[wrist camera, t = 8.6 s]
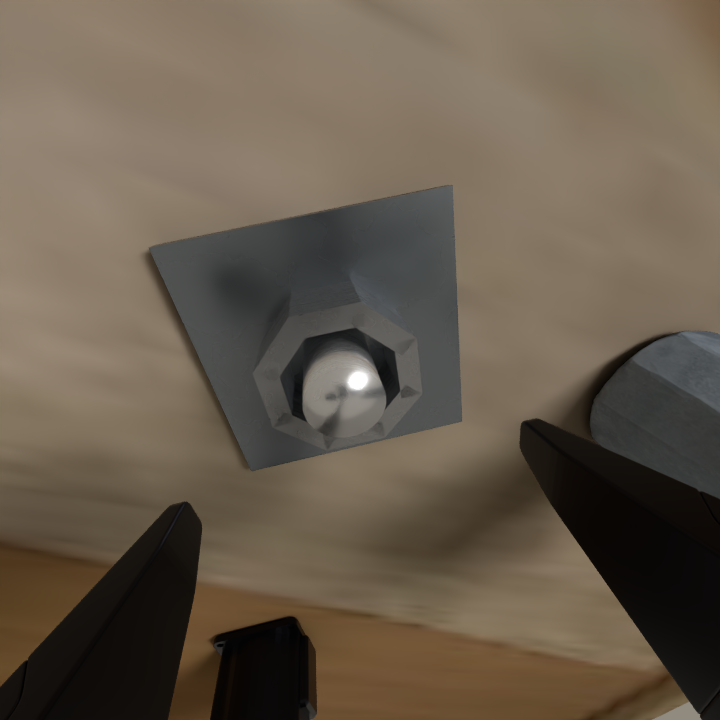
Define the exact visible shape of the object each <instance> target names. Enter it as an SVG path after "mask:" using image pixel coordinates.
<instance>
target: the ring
mask: <svg viewBox="0 0 720 720" xmlns="http://www.w3.org/2000/svg"><path fill="white" fill-rule="evenodd" d="M355 327H356V328H357V329H359V330H360V331H362V332H364V333H365V334H367V335H369V336H370V337H372V338H374V339H375V340H377V341H378V342H380V343H382V344H383V347H384V353H385V359H384V361H383V362H382V363H381V365H380V366H379V367H378V368H377V372H378V374H379V377H380V380H381V382H382V385H383V387H384V390H385V394H386V406H385V410H384V413H383V415H382V416H381V418H380V419H379V421H378V422H377V423H376V424H375V425H374V426H373V427H372V428H370V429H369V430H367V431H365V432H363V433H361V434H359V435H356V436H352V437H345V438H337V437H331V436H327V435H324V434H322V433H320V432H318V431H317V430H315V429H314V428H313V427H312V426H311V425H310V424H309V423H308V421H307V420H306V418H305V415H304V412H303V382H301V381H299V380H297V379H295V378H294V375H293V372H292V369H291V366H290V360H291V359H292V357H293V356H294V354H295V353H296V351H297V350H298V348H299V347H300V345H301V344H302V342H303V341H304V339H305V338H309V337H313V336H318V335H323V334H327V333H332V332H337V331H341V330H346V329H351V328H355ZM253 376H254V379H255V381H256V384H257V387H258V389H259V392H260V395H261V397H262V400H263V403H264V405H265V408H266V411H267V413H268V416H269V419H270V421H271V424H272V427H273V428H275V429H277V430H279V431H282V432H284V433H286V434H289V435H291V436H293V437H296V438H298V439H300V440H303V441H305V442H307V443H310V444H312V445H314V446H317V447H319V448H321V449H324V450H326V451H329V450H333V449H337V448H342V447H346V446H350V445H355V444H359V443H363V442H368V441H372V440H376V439H381V438H385V437H386V436H387V435H388V433H389V432H390V431H391V430H392V429H393V428H394V426H395V425H396V424H397V423H398V422H399V421H400V419H401V418H402V417H403V416H404V415H405V414H406V412H407V411H408V410H409V409H410V408H411V407H412V405H413V404H414V403H415V402H416V401H417V400H418V398H419V397H420V396H421V395H422V386H421V376H420V366H419V355H418V345H417V338H416V336H415V335H414V333H413V332H412V331H411V329H410V328H409V326H408V325H407V324H406V322H405V321H404V320H403V318H402V317H401V315H400V314H399V313H398V312H397V311H396V310H394V309H393V308H391V307H390V306H388V305H387V304H385V303H384V302H382V301H381V300H379V299H378V298H376V297H375V296H373V295H372V294H370V293H369V292H367V291H366V290H365V289H363V288H362V287H360V286H359V285H357V284H356V283H354V282H353V281H347V282H343V283H338V284H333V285H328V286H323V287H319V288H314V289H309V290H304V291H299V292H294V293H291V295H290V296H289V298H288V299H287V301H286V303H285V304H284V306H283V308H282V309H281V311H280V312H279V314H278V316H277V317H276V319H275V320H274V322H273V324H272V325H271V327H270V328H269V330H268V332H267V333H266V335H265V337H264V338H263V340H262V342H261V346H260V349H259V353H258V356H257V360H256V363H255V367H254V371H253Z"/></svg>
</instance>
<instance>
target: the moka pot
mask: <svg viewBox="0 0 720 720" xmlns="http://www.w3.org/2000/svg"><path fill="white" fill-rule="evenodd" d="M593 402H594V404H593V405H592V409H591V415H590V428H591V433H592V437H593V439H594V440H595V441H596V442H598V443H599V444H600V445H601V446H602V447H604V448H606V449H608V450H611V451H613V452H615V453H617V454H620V455H622V456H624V457H627V458H629V459H631V460H633V461H636V462H638V463H640V464H642V465H645V466H647V467H649V468H651V469H654V470H656V471H658V472H660V473H663V474H665V475H667V476H669V477H672V478H674V479H676V480H679V481H681V482H683V483H685V484H688V485H690V486H692V487H694V488H696V489H698V491H704V492H706V493H708V494H710V495H713V496H715V497H717V498H719V499H720V335H719V334H718V333H713V332H707V331H682V332H678V333H675V334H672V335H669V336H666V337H664V338H661V339H659V340H657V341H655V342H653V343H651V344H650V345H649V346H647V347H646V348H644V349H641V350H640V351H638V352H637V353H636V354H635V355H634V356H633V357H631V358H630V359H629V360H627V361H626V362H625V363H624V364H623V365H622V366H621V367H620V368H619V369H617V370H616V372H615V373H614V375H613V376H612V377H611V378H610V379H609V380H608V382H607V383H606V384H605V385H604V386H603V388H602V389H601V391H600V393H599V394H598V395H596V397H595V399H594V400H593Z"/></svg>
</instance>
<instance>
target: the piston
mask: <svg viewBox="0 0 720 720" xmlns="http://www.w3.org/2000/svg"><path fill="white" fill-rule="evenodd" d="M149 250H150V252H151V254H152V256H153V259H154V261H155V263H156V265H157V267H158V269H159V272H160V274H161V276H162V278H163V280H164V282H165V285H166V287H167V289H168V291H169V293H170V296H171V298H172V300H173V302H174V304H175V306H176V309H177V311H178V313H179V315H180V317H181V319H182V322H183V324H184V326H185V328H186V330H187V333H188V335H189V337H190V339H191V341H192V343H193V346H194V348H195V350H196V352H197V354H198V356H199V359H200V361H201V363H202V365H203V367H204V369H205V372H206V374H207V376H208V378H209V380H210V383H211V385H212V387H213V389H214V391H215V393H216V396H217V398H218V400H219V402H220V404H221V406H222V409H223V411H224V413H225V415H226V417H227V420H228V422H229V424H230V426H231V428H232V430H233V433H234V435H235V437H236V439H237V441H238V443H239V446H240V448H241V450H242V452H243V454H244V456H245V459H246V461H247V463H248V465H249V467H250V470H251V471H254V470H259V469H263V468H267V467H271V466H276V465H280V464H284V463H288V462H292V461H297V460H301V459H305V458H309V457H314V456H318V455H322V454H326V453H331V452H335V451H339V450H343V449H348V448H352V447H356V446H360V445H364V444H369V443H373V442H377V441H381V440H386V439H390V438H394V437H398V436H403V435H407V434H411V433H415V432H419V431H424V430H428V429H432V428H436V427H441V426H445V425H449V424H453V423H458V422H462V406H461V382H460V357H459V333H458V308H457V284H456V259H455V235H454V211H453V186H452V185H446V186H441V187H436V188H431V189H426V190H421V191H417V192H412V193H407V194H402V195H397V196H392V197H387V198H382V199H378V200H373V201H368V202H363V203H358V204H353V205H348V206H344V207H339V208H334V209H329V210H324V211H319V212H314V213H309V214H305V215H300V216H295V217H290V218H285V219H280V220H275V221H271V222H266V223H261V224H256V225H251V226H246V227H241V228H236V229H232V230H227V231H222V232H217V233H212V234H207V235H202V236H198V237H193V238H188V239H183V240H178V241H173V242H168V243H163V244H159V245H154V246H152V247H149ZM347 281H353V282H354V283H356V284H357V285H359V286H360V287H362V288H363V289H365V290H366V291H367V292H369V293H370V294H372V295H373V296H375V297H376V298H378V299H379V300H381V301H382V302H384V303H385V304H387V305H388V306H390V307H391V308H393V309H394V310H396V311H397V312H398V313H399V314H400V315H401V317H402V318H403V320H404V321H405V322H406V324H407V325H408V326H409V328H410V329H411V331H412V332H413V333H414V335H415V336H416V338H417V345H418V355H419V366H420V376H421V386H422V395H421V396H420V397H419V398H418V400H417V401H416V402H415V403H414V404H413V405H412V407H411V408H410V409H409V410H408V411H407V412H406V414H405V415H404V416H403V417H402V418H401V419H400V421H399V422H398V423H397V424H396V425H395V426H394V428H393V429H392V430H391V431H390V432H389V433H388V435H387V436H386V437H385V438H381V439H376V440H372V441H368V442H363V443H359V444H355V445H350V446H346V447H342V448H337V449H333V450H329V451H326V450H324V449H321V448H319V447H317V446H314V445H312V444H310V443H307V442H305V441H303V440H300V439H298V438H296V437H293V436H291V435H289V434H286V433H284V432H282V431H279V430H277V429H275V428H273V427H272V424H271V421H270V419H269V416H268V413H267V411H266V408H265V405H264V403H263V400H262V397H261V395H260V392H259V389H258V387H257V384H256V381H255V379H254V376H253V371H254V367H255V363H256V360H257V356H258V353H259V349H260V346H261V342H262V340H263V338H264V337H265V335H266V333H267V332H268V330H269V328H270V327H271V325H272V324H273V322H274V320H275V319H276V317H277V316H278V314H279V312H280V311H281V309H282V308H283V306H284V304H285V303H286V301H287V299H288V298H289V296H290V295H291V293H294V292H299V291H304V290H309V289H314V288H319V287H323V286H328V285H333V284H338V283H343V282H347ZM384 359H385V353H384V347H383V344H382V343H380V342H378V341H377V340H375V339H374V338H372V337H370V336H369V335H367V334H365V333H364V332H362V331H360V330H359V329H357V328H356V327H355V328H351V329H346V330H341V331H337V332H332V333H327V334H323V335H318V336H313V337H309V338H305V339H304V341H303V342H302V344H301V345H300V347H299V348H298V350H297V351H296V353H295V354H294V356H293V357H292V359H291V360H290V366H291V369H292V372H293V375H294V378H295V379H297V380H299V381H301V382H303V412H304V415H305V418H306V420H307V421H308V423H309V424H310V425H311V426H312V427H313V428H314V429H315V430H317V431H318V432H320V433H322V434H324V435H327V436H331V437H337V438H345V437H352V436H356V435H359V434H361V433H363V432H365V431H367V430H369V429H370V428H372V427H373V426H374V425H375V424H376V423H377V422H378V421H379V419H380V418H381V416H382V415H383V413H384V410H385V406H386V394H385V390H384V387H383V385H382V382H381V380H380V377H379V374H378V372H377V368H378V367H379V366H380V365H381V363H382V362H383V361H384Z"/></svg>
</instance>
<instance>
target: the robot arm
mask: <svg viewBox="0 0 720 720" xmlns="http://www.w3.org/2000/svg"><path fill="white" fill-rule="evenodd" d="M520 449H521V452H522V454H523V456H524V457H525V459H526V461H527V463H528V465H529V466H530V468H531V470H532V472H533V474H534V475H535V477H536V479H537V481H538V482H539V484H540V486H541V488H542V490H543V491H544V493H545V495H546V497H547V498H548V500H549V502H550V503H551V505H552V506H553V508H554V509H555V511H556V512H557V514H558V515H559V517H560V518H561V519H562V521H563V522H564V524H565V525H566V527H567V528H568V529H569V531H570V532H571V534H572V535H573V537H574V538H575V539H576V541H577V542H578V544H579V545H580V546H581V548H582V549H583V551H584V552H585V554H586V555H587V556H588V558H589V559H590V561H591V562H592V564H593V565H594V566H595V568H596V569H597V571H598V572H599V574H600V575H601V576H602V578H603V579H604V581H605V582H606V583H607V585H608V586H609V588H610V589H611V591H612V592H613V593H614V595H615V596H616V598H617V599H618V601H619V602H620V603H621V605H622V606H623V608H624V609H625V611H626V612H627V613H628V615H629V616H630V618H631V619H632V620H633V622H634V623H635V625H636V626H637V628H638V629H639V630H640V632H641V633H642V635H643V636H644V638H645V639H646V640H647V642H648V643H649V645H650V646H651V647H652V649H653V650H654V652H655V653H656V655H657V656H658V657H659V659H660V660H661V662H662V663H663V665H664V666H665V667H666V669H667V670H668V672H669V673H670V675H671V676H672V677H673V679H674V680H675V682H676V683H677V684H678V686H679V687H680V689H681V690H682V692H683V693H684V694H685V696H686V697H687V699H688V700H689V702H690V703H691V704H692V705H693V707H694V709H695V710H696V711H697V712H698V713H699V714H700V718H701V719H702V720H720V499H719V498H717V497H715V496H713V495H710V494H708V493H706V492H704V491H698V489H696V488H694V487H692V486H690V485H688V484H685V483H683V482H681V481H679V480H676V479H674V478H672V477H669V476H667V475H665V474H663V473H660V472H658V471H656V470H654V469H651V468H649V467H647V466H645V465H642V464H640V463H638V462H636V461H633V460H631V459H629V458H627V457H624V456H622V455H620V454H617V453H615V452H613V451H611V450H608V449H606V448H604V447H602V446H599V445H597V444H595V443H593V442H590V441H588V440H586V439H584V438H581V437H579V436H577V435H575V434H572V433H570V432H568V431H565V430H563V429H561V428H559V427H556V426H554V425H552V424H550V423H547V422H545V421H543V420H541V419H537V418H535V419H531V420H526V421H523V422H522V423H521V428H520ZM201 535H202V524H201V521H200V519H199V517H198V516H197V514H196V513H195V511H194V509H193V508H192V506H191V505H190V503H188V502H181V503H177V504H173V505H171V506H169V507H168V508H167V509H166V510H165V511H164V512H163V513H162V514H161V516H160V517H159V518H158V519H157V520H156V521H155V522H154V523H153V524H152V525H151V526H150V527H149V528H148V529H147V531H146V532H145V533H144V534H143V535H142V536H141V537H140V538H139V539H138V540H137V541H136V542H135V543H134V544H133V546H132V547H131V548H130V549H129V550H128V551H127V552H126V553H125V554H124V555H123V556H122V557H121V558H120V559H119V560H118V562H117V563H116V564H115V565H114V566H113V567H112V568H111V569H110V570H109V571H108V572H107V573H106V574H105V575H104V577H103V578H102V579H101V580H100V581H99V582H98V583H97V584H96V585H95V586H94V587H93V588H92V589H91V590H90V592H89V593H88V594H87V595H86V596H85V597H84V598H83V599H82V600H81V601H80V602H79V603H78V604H77V605H76V607H75V608H74V609H73V610H72V611H71V612H70V613H69V614H68V615H67V616H66V617H65V618H64V619H63V620H62V622H61V623H60V624H59V625H58V626H57V627H56V628H55V629H54V630H53V631H52V632H51V633H50V634H49V635H48V637H47V638H46V639H45V640H44V641H43V642H42V643H41V644H40V645H39V646H38V647H37V648H36V649H35V650H34V652H33V653H32V654H31V655H30V656H29V658H28V660H26V661H24V662H23V663H22V664H21V665H20V666H19V667H18V669H17V670H16V671H15V672H14V673H13V674H12V675H11V676H10V677H9V678H8V679H7V680H6V681H5V682H4V684H3V685H2V686H1V687H0V720H168V716H169V711H170V707H171V702H172V697H173V693H174V688H175V683H176V679H177V674H178V669H179V665H180V660H181V655H182V651H183V646H184V641H185V637H186V632H187V627H188V623H189V618H190V614H191V609H192V604H193V599H194V594H195V587H196V580H197V571H198V562H199V553H200V544H201ZM213 646H214V648H215V649H216V650H217V652H218V653H219V654H220V655H221V661H220V666H219V672H218V678H217V683H216V689H215V694H214V700H213V706H212V711H211V717H210V720H310V719H313V718H315V716H316V714H317V694H316V651H315V649H314V647H313V645H312V643H311V641H310V639H309V637H308V636H307V635H305V633H304V631H303V629H302V627H301V625H300V624H299V622H298V620H297V619H296V618H288V619H284V620H280V621H277V622H273V623H269V624H265V625H261V626H257V627H253V628H249V629H245V630H241V631H237V632H234V633H230V634H226V635H222V636H218V637H216V638H215V640H214V645H213Z"/></svg>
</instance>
